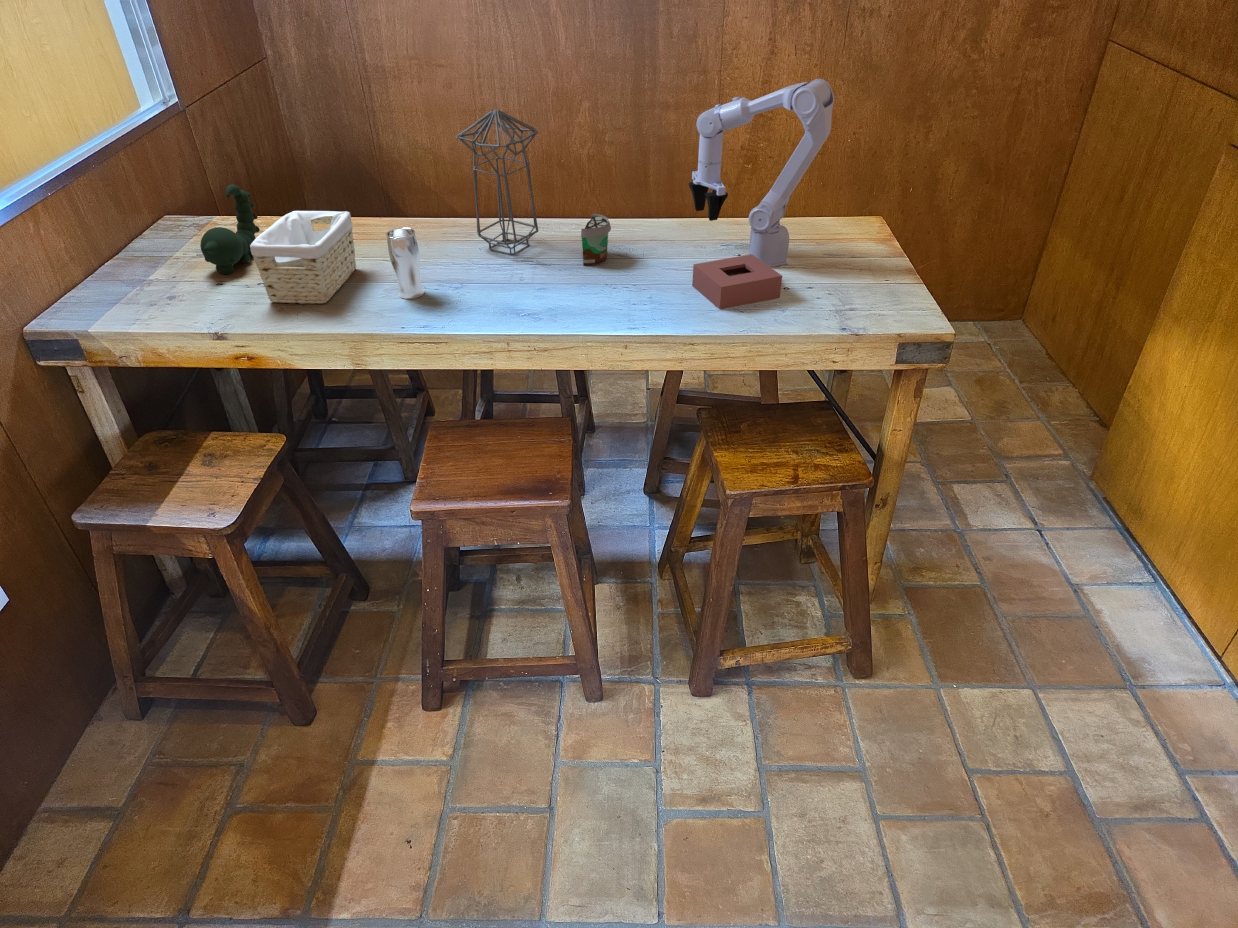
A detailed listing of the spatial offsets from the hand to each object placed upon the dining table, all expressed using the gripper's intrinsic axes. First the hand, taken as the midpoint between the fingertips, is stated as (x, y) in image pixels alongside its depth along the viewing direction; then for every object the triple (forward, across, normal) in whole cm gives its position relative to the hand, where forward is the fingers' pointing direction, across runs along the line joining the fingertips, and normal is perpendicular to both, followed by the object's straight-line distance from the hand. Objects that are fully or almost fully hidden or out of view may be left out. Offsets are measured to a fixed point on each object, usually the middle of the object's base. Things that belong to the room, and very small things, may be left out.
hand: (706, 215), depth 203 cm
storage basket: (+10, -17, -98) cm, 100 cm away
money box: (+9, +26, -5) cm, 28 cm away
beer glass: (+10, -3, -77) cm, 78 cm away
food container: (+10, -5, -28) cm, 30 cm away
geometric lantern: (+10, -21, -48) cm, 53 cm away
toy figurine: (+10, -39, -115) cm, 122 cm away
